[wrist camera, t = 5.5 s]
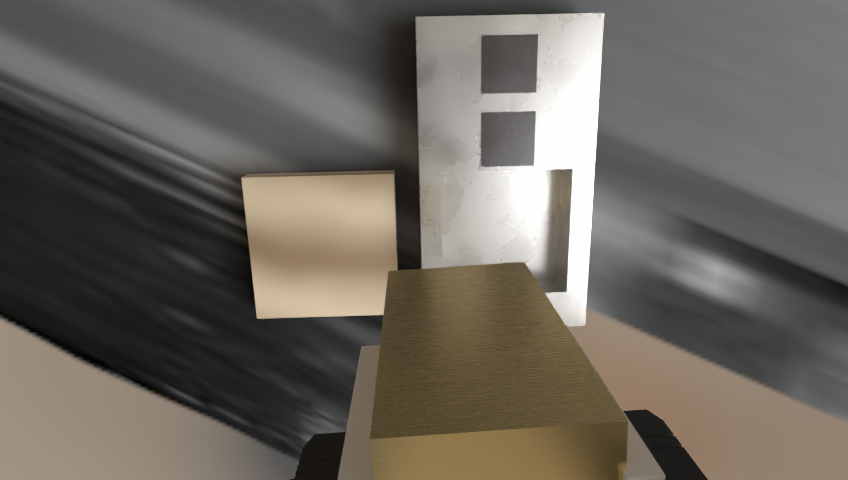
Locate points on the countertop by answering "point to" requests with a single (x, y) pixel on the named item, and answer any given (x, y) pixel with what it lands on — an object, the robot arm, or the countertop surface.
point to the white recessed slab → (510, 145)
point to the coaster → (321, 242)
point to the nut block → (487, 384)
